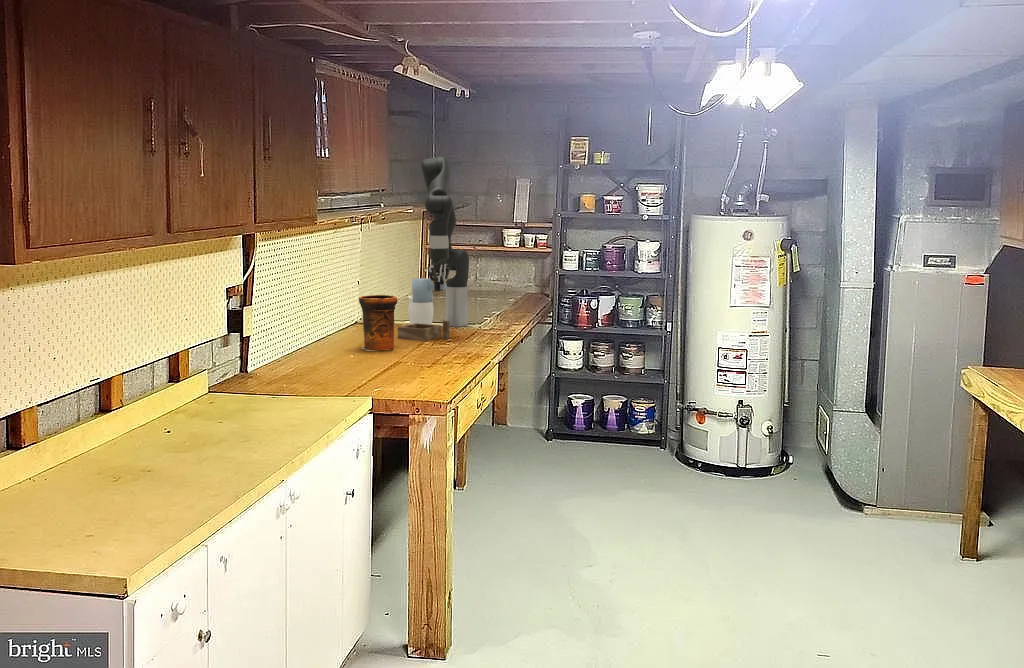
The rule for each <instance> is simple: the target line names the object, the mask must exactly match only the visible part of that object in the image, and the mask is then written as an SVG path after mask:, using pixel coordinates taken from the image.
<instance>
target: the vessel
mask: <svg viewBox="0 0 1024 668" xmlns="http://www.w3.org/2000/svg"><path fill="white" fill-rule="evenodd" d="M358 303H359V305H360V307H361V311H362V324H363V325H362V326H363V327H362V330H363V339H364V341H363V343H364V346H362V347H361V346H360V350H361V349H362V350H364V351H368V352H371V351H372V352H377V351H393V350H392V349H393V348H394V346H395V345H394V344H395V343H394V341H395V310H396V305H397V304H398V297H397V296H396V295H389V294H388V295H387V294H374V295H373V294H371V295H362V296H359V297H358Z"/></svg>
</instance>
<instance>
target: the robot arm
mask: <svg viewBox="0 0 1024 668" xmlns="http://www.w3.org/2000/svg"><path fill="white" fill-rule="evenodd" d="M420 164H421V174H422V176H423V179H424V182H425V187H426V189H427V194H428V195H427V197H426V199H425V201H424V202H425V203H424V207H425V211H426V212H427V213H429V214H432V217H433V220H431V221H430V222H429V243H428V244H429V246H428V247H429V248H428V249H429V259H430V260H431V265H430V266H428V267H426V268H427V273H428V275H429V278H430V279H431V280H432V282H433V284H434V289H433V290H434V292H443V291H444V290H440V284H447V289H446V290H445V321H449V327H455V328H457V327H458V328H459V327H460V328H461V327H466V326H467V325H468V321H469V320H468V318H469V315H468V313H469V312H468V311H469V310H468V308H469V306H468V305H469V304H468V282H469V272H470V271H469V269H470V266H469V265H470V255H469V253H468V251H467V250H465V249H453V247H452V241H451V240H452V235H453V232H454V230H455V228H456V224H457V216H456V212H455V207H454V205H453V200H452V198H451V196H449V195H448V186H447V185H448V182H449V177H450V166H449V163H448V160H447V158H446V156H434V157H430V158H425V159H422V161H421V163H420ZM450 271H454V272H455V274H454V276H453V277H451V278H449V274H450Z"/></svg>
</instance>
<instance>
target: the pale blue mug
mask: <svg viewBox="0 0 1024 668" xmlns="http://www.w3.org/2000/svg"><path fill="white" fill-rule="evenodd" d="M446 289H447V284H446V283H444V284H440V290H443V291H446ZM433 290H434V283H433V281H432V280H431V279H430V277H429V278H427V277H425V278H424V277H422V278H421V277H420V278H418V277H417V278H412V279H411V293H412V295H411V296H412V298H413V302H414V303H428V302H433V300H434V298H433V296H434V294H433Z"/></svg>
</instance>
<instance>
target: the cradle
mask: <svg viewBox="0 0 1024 668" xmlns="http://www.w3.org/2000/svg"><path fill="white" fill-rule="evenodd" d="M439 338H442V340H446V341H447V340H450V326H449V321H446V320H443V321H442V325H438V324H431V325H429V324H419V323H414V324H410V323H409V324H406V325H402V326H397V337H396V339H399V340H408V341H415V342H417V341H418V342H427V341H431V340H435V339H439Z"/></svg>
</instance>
